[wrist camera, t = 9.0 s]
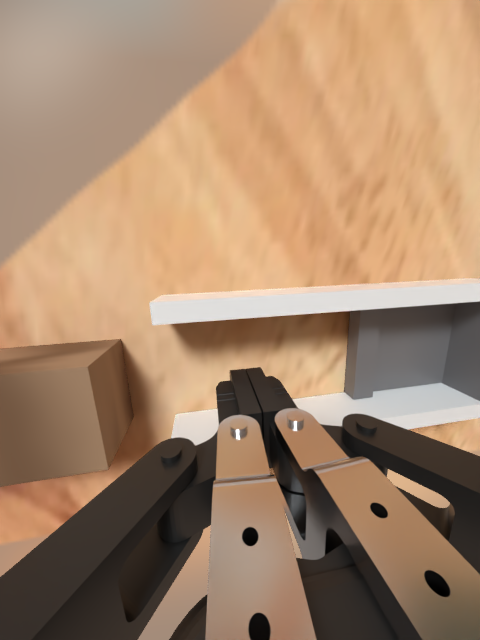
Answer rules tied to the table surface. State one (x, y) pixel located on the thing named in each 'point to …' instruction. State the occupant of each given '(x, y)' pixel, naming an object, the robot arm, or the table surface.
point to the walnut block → (61, 409)
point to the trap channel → (365, 348)
